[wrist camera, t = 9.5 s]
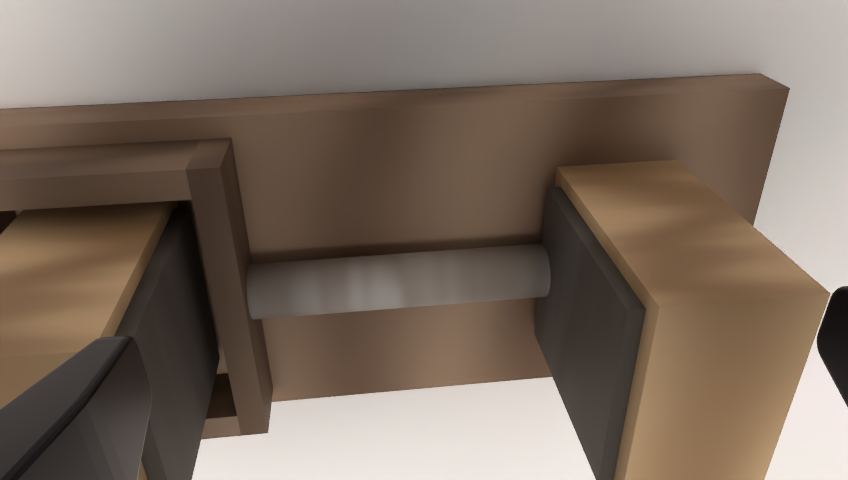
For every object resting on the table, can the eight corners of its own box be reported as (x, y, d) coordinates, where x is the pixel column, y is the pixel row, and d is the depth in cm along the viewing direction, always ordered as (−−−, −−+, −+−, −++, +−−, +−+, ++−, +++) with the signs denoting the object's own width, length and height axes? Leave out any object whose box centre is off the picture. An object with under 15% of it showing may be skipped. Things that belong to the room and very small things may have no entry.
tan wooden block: (189, 186, 18) (116, 348, 12) (224, 357, 21) (179, 556, 15) (36, 194, 18) (-120, 367, 12) (94, 367, 21) (-7, 576, 15)
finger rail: (760, 73, 20) (1007, 195, 13) (696, 336, 25) (847, 532, 18) (-84, 113, 18) (-382, 289, 10) (31, 393, 23) (-115, 646, 15)
